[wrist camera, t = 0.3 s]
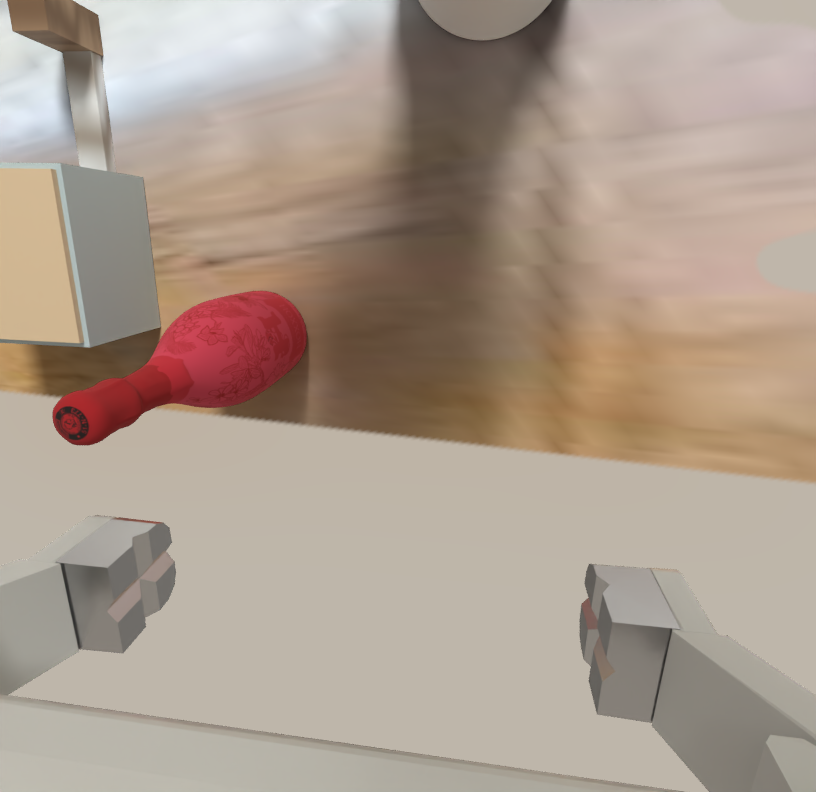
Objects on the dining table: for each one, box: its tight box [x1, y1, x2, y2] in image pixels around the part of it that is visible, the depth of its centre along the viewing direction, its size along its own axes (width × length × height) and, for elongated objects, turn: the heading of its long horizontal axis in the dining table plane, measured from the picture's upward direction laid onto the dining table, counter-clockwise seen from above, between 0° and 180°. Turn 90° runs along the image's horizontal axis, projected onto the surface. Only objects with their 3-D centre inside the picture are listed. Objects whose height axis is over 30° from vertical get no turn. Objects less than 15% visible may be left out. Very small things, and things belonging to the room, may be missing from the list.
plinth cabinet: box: [0, 163, 161, 348], centre depth 53 cm, size 16×14×12 cm
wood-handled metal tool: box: [7, 0, 117, 173], centre depth 51 cm, size 18×4×7 cm, turn 179°
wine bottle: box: [53, 291, 307, 445], centre depth 44 cm, size 10×10×30 cm
